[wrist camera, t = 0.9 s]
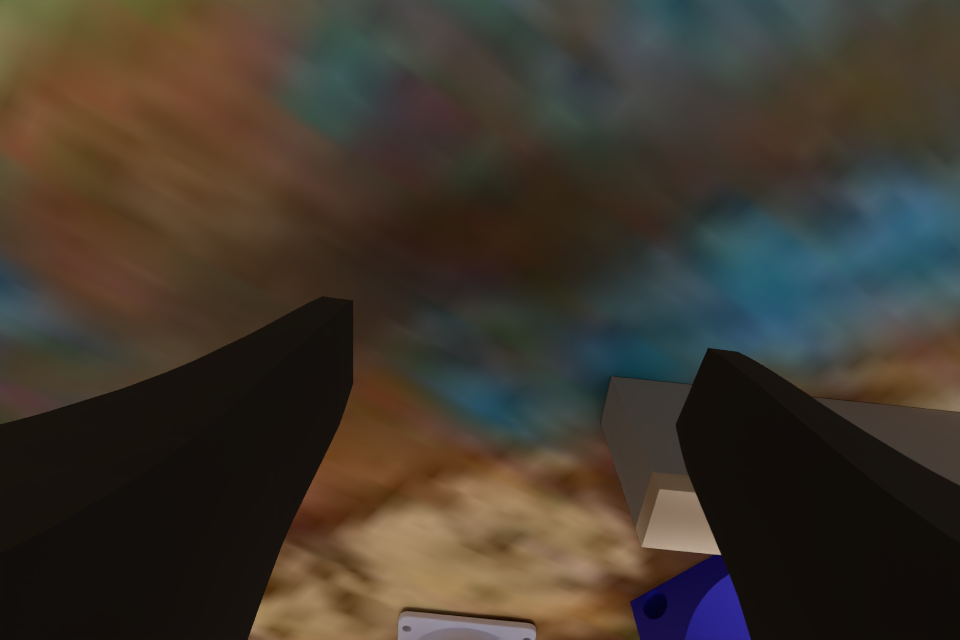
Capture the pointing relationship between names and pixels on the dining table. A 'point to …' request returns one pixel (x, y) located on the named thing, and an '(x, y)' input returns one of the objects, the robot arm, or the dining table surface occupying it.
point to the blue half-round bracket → (692, 606)
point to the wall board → (666, 484)
